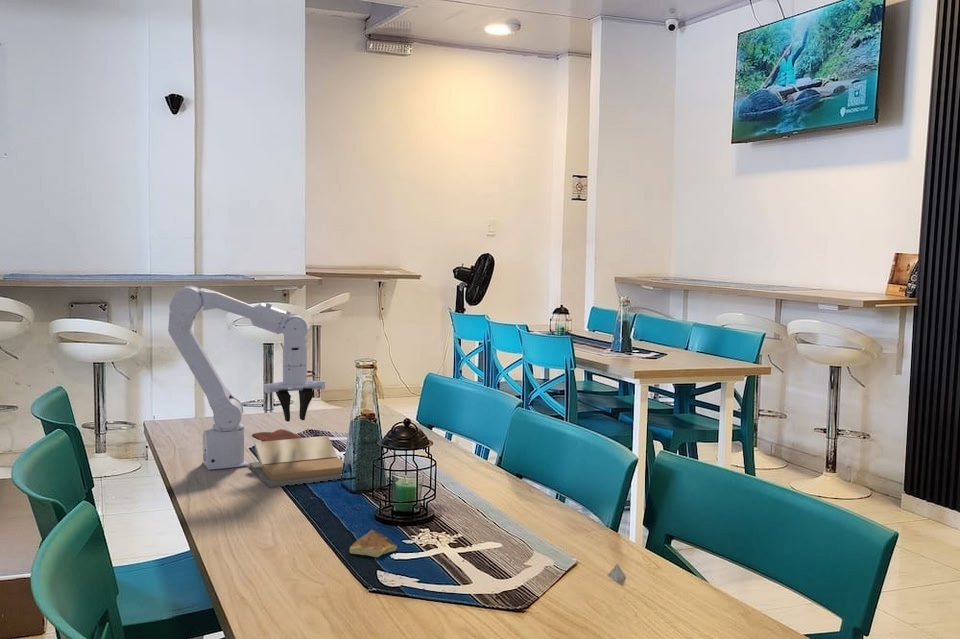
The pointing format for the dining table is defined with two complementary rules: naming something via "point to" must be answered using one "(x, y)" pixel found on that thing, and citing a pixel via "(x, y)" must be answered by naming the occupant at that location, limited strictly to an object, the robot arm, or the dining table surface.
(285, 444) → the ash plank
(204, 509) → the dining table surface
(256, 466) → the floor base
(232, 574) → the dining table surface
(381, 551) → the shard
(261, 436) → the wooden tablet
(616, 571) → the tetrahedral die
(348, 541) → the dining table surface
